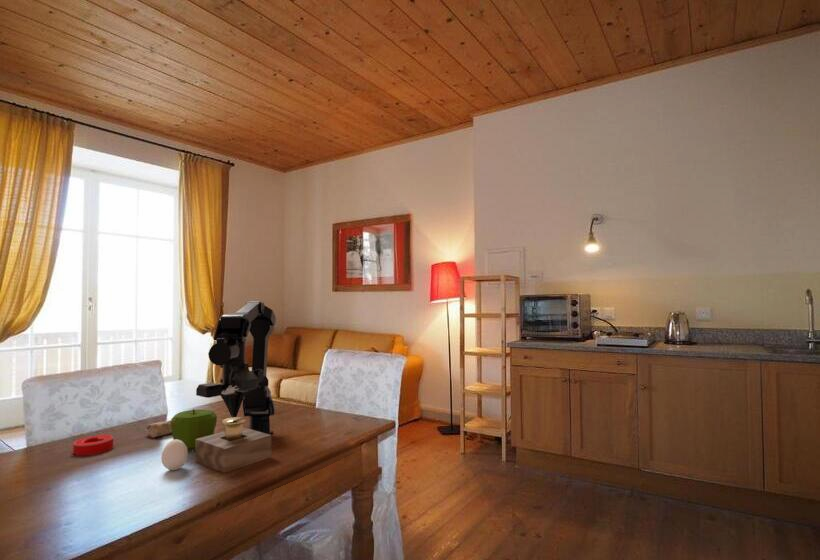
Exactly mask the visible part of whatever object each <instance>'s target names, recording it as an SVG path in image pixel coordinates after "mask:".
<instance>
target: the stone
mask: <svg viewBox="0 0 820 560" xmlns="http://www.w3.org/2000/svg"><path fill="white" fill-rule="evenodd" d="M145 432H146V434H147V435H148V436H149V437H150V438H152V439H153V438H154V439H155V438H156V437H161V436H166V435H169V434H170V435H171V434H172V430H171V419H170V420H167V421H159V422H155V423H149V424H148V425H147V426H146V428H145Z"/></svg>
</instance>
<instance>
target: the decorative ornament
mask: <svg viewBox="0 0 820 560" xmlns="http://www.w3.org/2000/svg"><path fill="white" fill-rule="evenodd" d="M113 448H114V437H113V435H111V434H110V435H109V434H98V435H97V434H96V435H92V436H87V437H82V438H80V439H77V440H75V441H74V442H73V445H72V454H73V453H74V454H75V455H76V456H91V455H95V454H100V453H104V452H107V451H110V450H111V449H113ZM74 454H73V455H74ZM75 455H74V456H75Z"/></svg>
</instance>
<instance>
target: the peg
mask: <svg viewBox="0 0 820 560" xmlns="http://www.w3.org/2000/svg"><path fill="white" fill-rule="evenodd" d="M244 423H246V418H245V417H244V416H237V417H234V418H233V417H228V418H225V419H222V420H221V425H223V426H224V427H225V428H224V431H225V440H228V441H234V440H237V439H240V438H242V427H243V424H244Z"/></svg>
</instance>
